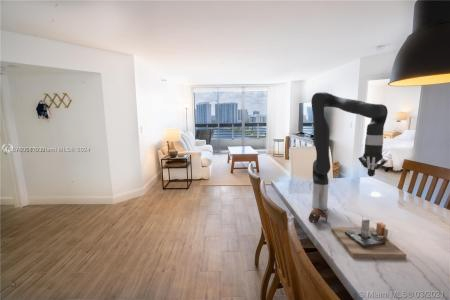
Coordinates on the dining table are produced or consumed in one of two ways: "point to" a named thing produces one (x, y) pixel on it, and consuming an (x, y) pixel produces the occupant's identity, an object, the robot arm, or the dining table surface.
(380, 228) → the knobbed grey plate
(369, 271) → the dining table surface
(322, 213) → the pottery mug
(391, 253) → the post base
